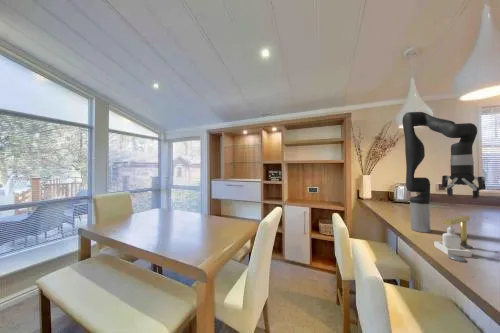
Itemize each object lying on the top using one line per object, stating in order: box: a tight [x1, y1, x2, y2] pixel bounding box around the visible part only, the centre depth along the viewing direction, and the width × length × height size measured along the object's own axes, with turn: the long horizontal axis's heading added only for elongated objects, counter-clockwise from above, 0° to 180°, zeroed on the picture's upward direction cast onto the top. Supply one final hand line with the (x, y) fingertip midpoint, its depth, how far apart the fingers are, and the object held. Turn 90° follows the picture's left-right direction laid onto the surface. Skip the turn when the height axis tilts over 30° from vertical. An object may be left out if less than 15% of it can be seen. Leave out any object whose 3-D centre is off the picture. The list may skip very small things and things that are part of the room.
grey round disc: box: [448, 255, 467, 263], centre depth 80 cm, size 5×5×1 cm
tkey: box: [443, 214, 470, 245], centre depth 90 cm, size 18×2×14 cm, turn 113°
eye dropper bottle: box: [442, 225, 461, 250], centre depth 88 cm, size 4×6×12 cm
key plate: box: [460, 242, 474, 250], centre depth 92 cm, size 4×4×1 cm
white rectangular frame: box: [433, 240, 472, 258], centre depth 87 cm, size 10×8×2 cm
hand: (462, 197), depth 91 cm, fingers open, 8 cm apart
